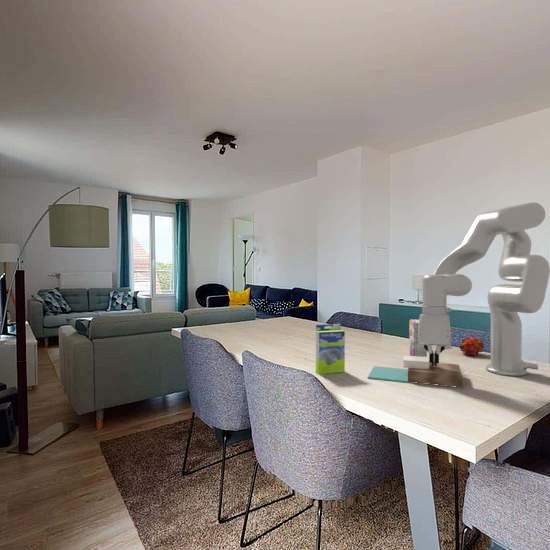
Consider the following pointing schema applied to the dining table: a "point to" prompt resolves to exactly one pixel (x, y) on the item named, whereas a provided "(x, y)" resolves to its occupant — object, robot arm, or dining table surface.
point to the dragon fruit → (471, 346)
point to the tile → (416, 362)
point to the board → (437, 375)
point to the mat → (389, 374)
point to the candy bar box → (415, 340)
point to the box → (330, 349)
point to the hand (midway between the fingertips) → (434, 364)
